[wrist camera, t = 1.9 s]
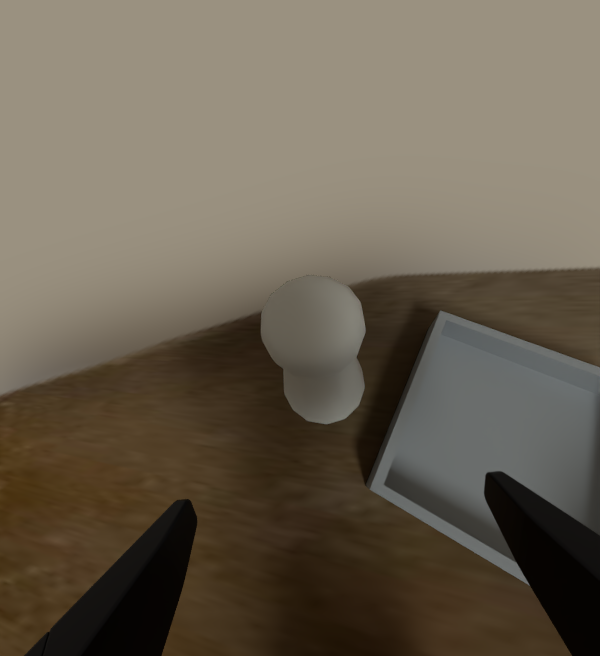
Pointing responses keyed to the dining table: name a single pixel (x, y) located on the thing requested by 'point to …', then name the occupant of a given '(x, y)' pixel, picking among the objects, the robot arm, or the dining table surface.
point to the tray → (490, 433)
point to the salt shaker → (316, 346)
